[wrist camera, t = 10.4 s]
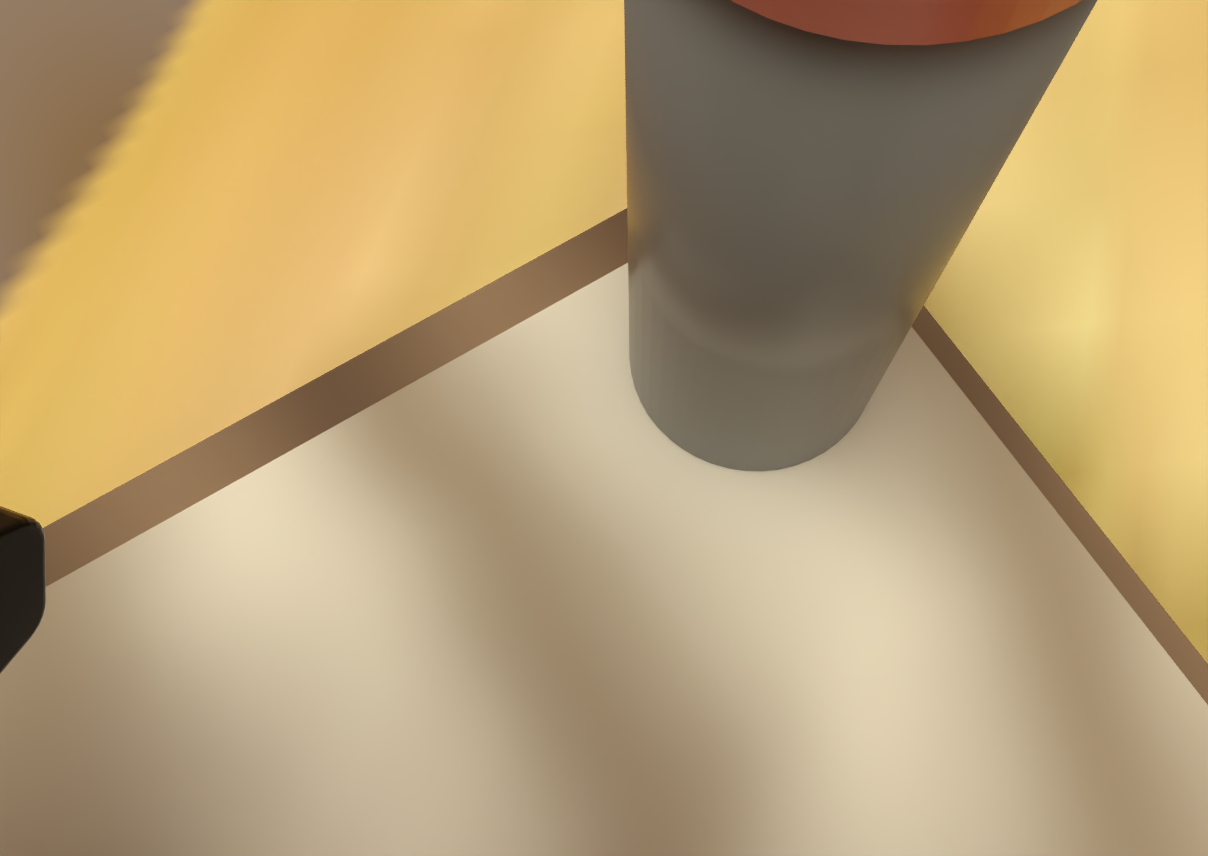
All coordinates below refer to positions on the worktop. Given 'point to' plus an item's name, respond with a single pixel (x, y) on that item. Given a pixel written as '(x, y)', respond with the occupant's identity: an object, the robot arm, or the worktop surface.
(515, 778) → the brown framed square board
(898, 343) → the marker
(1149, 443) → the worktop surface
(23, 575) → the robot arm
